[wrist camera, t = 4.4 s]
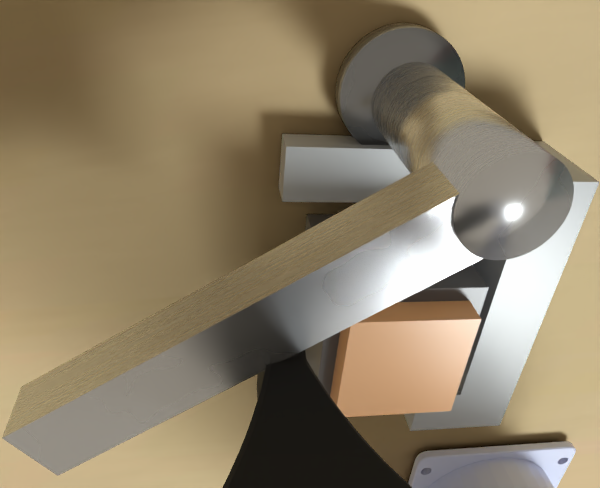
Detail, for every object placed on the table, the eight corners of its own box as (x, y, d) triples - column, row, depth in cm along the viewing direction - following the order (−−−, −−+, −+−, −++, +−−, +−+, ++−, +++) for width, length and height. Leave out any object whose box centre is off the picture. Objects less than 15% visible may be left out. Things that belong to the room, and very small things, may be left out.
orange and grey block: (411, 316, 21) (461, 420, 17) (295, 319, 20) (317, 428, 16) (436, 213, 19) (501, 305, 15) (306, 213, 18) (336, 309, 14)
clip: (107, 313, 17) (66, 486, 12) (57, 264, 16) (-12, 434, 11) (460, 116, 15) (585, 224, 10) (433, 45, 14) (557, 128, 9)
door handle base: (440, 147, 17) (448, 156, 17) (328, 144, 17) (333, 153, 16) (468, 26, 15) (479, 32, 15) (343, 18, 15) (349, 23, 14)
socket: (467, 367, 23) (499, 425, 20) (265, 376, 22) (272, 439, 19) (543, 141, 18) (599, 182, 15) (282, 133, 16) (296, 177, 14)
